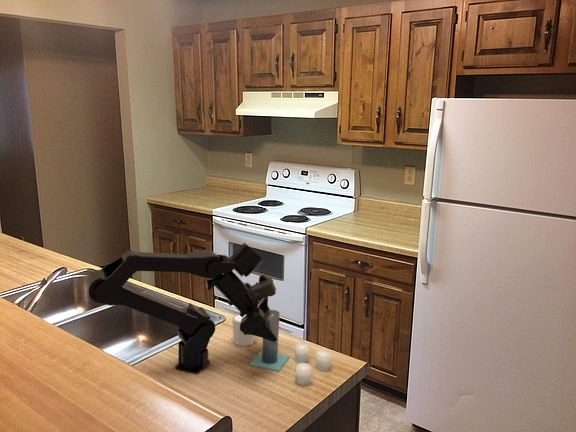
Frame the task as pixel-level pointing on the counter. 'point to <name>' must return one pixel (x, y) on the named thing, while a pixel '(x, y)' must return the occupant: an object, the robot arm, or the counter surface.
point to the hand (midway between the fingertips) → (276, 332)
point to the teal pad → (275, 366)
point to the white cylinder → (237, 334)
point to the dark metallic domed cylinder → (269, 346)
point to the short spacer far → (323, 360)
